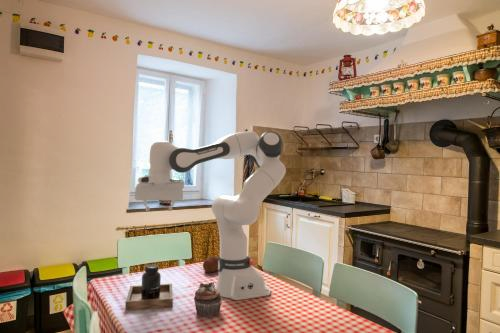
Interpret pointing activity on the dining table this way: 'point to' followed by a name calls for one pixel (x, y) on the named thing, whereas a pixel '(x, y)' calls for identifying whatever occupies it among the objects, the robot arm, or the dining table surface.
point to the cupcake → (207, 301)
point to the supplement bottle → (151, 282)
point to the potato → (211, 264)
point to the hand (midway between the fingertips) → (158, 210)
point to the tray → (138, 303)
